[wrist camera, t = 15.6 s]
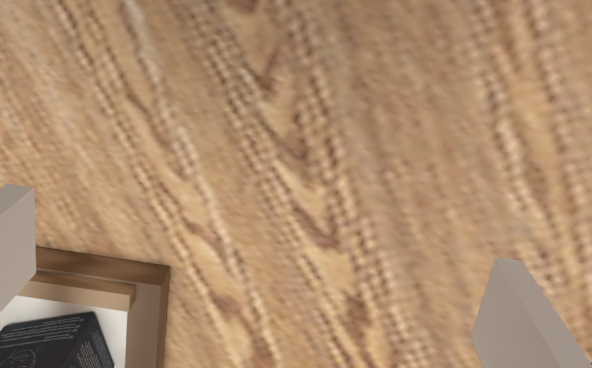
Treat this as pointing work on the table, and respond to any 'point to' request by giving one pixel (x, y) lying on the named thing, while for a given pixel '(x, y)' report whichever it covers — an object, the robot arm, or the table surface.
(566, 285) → the table surface
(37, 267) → the stand
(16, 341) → the box
